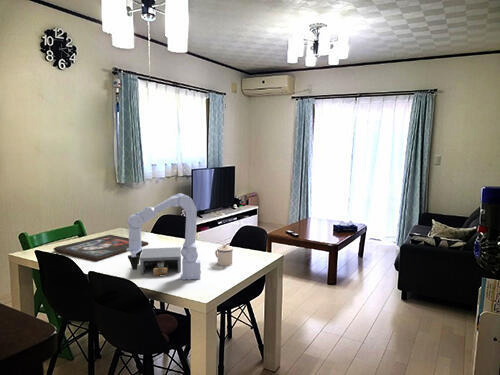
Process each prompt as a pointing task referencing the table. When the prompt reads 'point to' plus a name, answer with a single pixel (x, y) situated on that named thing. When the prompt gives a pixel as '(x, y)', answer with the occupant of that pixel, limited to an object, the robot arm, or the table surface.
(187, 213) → the robot arm
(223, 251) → the teacup with lid
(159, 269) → the teak tray
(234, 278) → the table surface
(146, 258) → the grey low stand
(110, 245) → the religious icon
